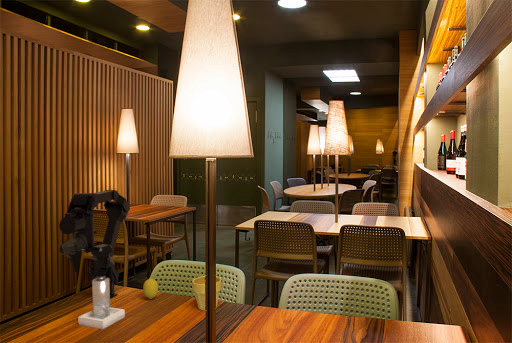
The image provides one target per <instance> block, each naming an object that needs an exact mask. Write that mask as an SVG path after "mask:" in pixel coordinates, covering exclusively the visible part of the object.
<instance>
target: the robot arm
mask: <svg viewBox="0 0 512 343" xmlns="http://www.w3.org/2000/svg"><path fill="white" fill-rule="evenodd" d="M102 203H103V207H104V209H105V214H106V216H107V225H106V227H105V231H104V235H103V239H102V244H98V242H97V241H95V235H96V234H97V233H98V232H97V231H98V230H95V226H94V225H95V224H94V222H95V221H94V220H95V219H94V215H96V214H97V212H96V210H94V209H95V208H97V207H98V205H99V204H102ZM130 209H131V208H130V204H129V202H128V200H127V199H126V197H124V196H122V195H121V194H120V193H119V192H118V190H116V189H105V190H103V191H98V192H94V193H93V192H76V193H74V194H73V195H72V197H71V199H70V202H69V205H68V207H67V210H66V212H65V213H64V217H63V218H61V219H60V221H59V225H58V226H59V230H60V231H61V233H62V234H65V235H71V234H72V238H70V239H68V240H67V241H65V242H64V243H62V244H60V246H59V253H61V254H62V255H63V256H66V258H68V259H69V261H70V264H71V266H72V268H73V271H74V272H75V273H78V272H79V268H80V261H81V256H82V254H81V253H82V252H89V253H91V255H92V256H90V258H91V263H90V266H89V270H88V271H89V272H88V273H89V277H90V281H91V283H92V280H94V279H96V277H97V276H102V275H103V276H105V277H106V278H109V286H110V300H111V299H113V298H115V297H116V296H117V297H118V293H115V283H117V282H118V280H119V276H120V274H119V273H118V271H117V270H116V268H115V266H116V263H115V261H114V258H113V256H114V253H115V252H114V251H115V249H116V248H115V247H116V244H117V240H118V235H119V231H120V228H121V224H122V222H124V220H125V219H126V218H127V216H128V213H129V212H130Z"/></svg>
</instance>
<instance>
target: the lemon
mask: <svg viewBox="0 0 512 343" xmlns="http://www.w3.org/2000/svg"><path fill="white" fill-rule="evenodd" d="M142 292H143V296H145V297H146V298H147V299H149V300H152V299H153V298H155V297H156V296H157V295H158V293H159V284H158V282H157V281H156V279H154V278H152V277H150V278H148V279H147V280H145V281H144V282H143V287H142Z"/></svg>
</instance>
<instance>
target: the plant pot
mask: <svg viewBox="0 0 512 343" xmlns="http://www.w3.org/2000/svg"><path fill="white" fill-rule="evenodd" d="M205 276H206V275H204V276H198V277H195V278H193V279H192V281H191V288H192V292H193V293H194V296H195V300H196V303H197V307H198V309H199V310H201V311H206V310H205ZM215 276H216V275H215ZM222 284H223V283H222V278H221V277H219V276H218V275H217V276H216V308H218V303H219V297H220V293H221V292H220V291H221V290H222V288H223V287H222V286H223V285H222ZM216 308H215V309H216Z"/></svg>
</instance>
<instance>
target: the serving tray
mask: <svg viewBox="0 0 512 343" xmlns="http://www.w3.org/2000/svg"><path fill="white" fill-rule="evenodd" d="M125 311H126V310H125V309H122V308H118V307H117V308H116V307H111V306H110V316H108V317H106V318H105V319H97V318H93V309H92V310H90V311H88V312H85V313H84V314H81V315H79V316H78V317H77V318H78V319H77V320H78V321H77V322H78V325H79V326H84V327H90V328H93V329H99V330H104V329H106V328H107V327H110V326H111V325H113V324H115V323H117V322H118V321H121V320H122V319H124V318H125V316H126V314H125V313H126V312H125Z"/></svg>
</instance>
